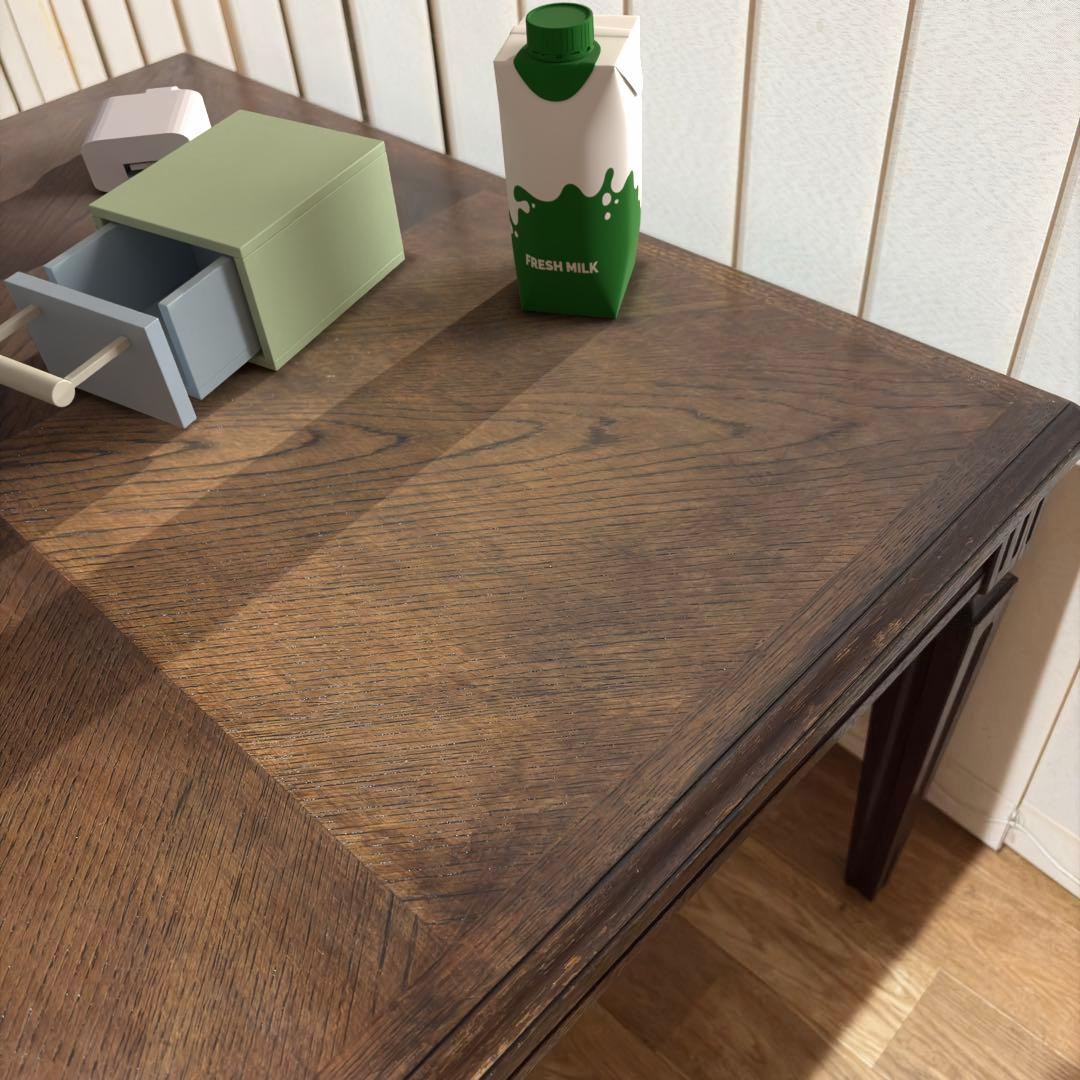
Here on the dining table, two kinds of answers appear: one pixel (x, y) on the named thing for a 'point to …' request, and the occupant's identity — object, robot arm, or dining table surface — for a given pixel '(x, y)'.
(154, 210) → the cabinet
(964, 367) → the dining table surface
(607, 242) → the milk carton
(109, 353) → the drawer
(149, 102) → the charger
